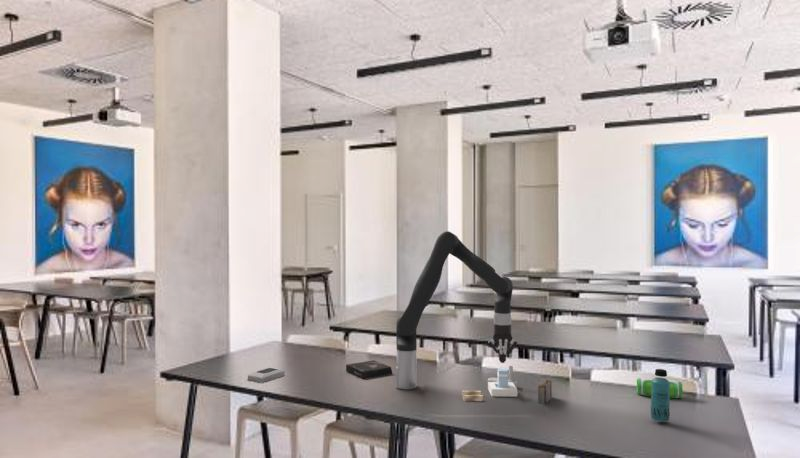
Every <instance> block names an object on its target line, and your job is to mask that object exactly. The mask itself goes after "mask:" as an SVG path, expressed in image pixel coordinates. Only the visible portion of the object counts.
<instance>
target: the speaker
mask: <svg viewBox="0 0 800 458" xmlns="http://www.w3.org/2000/svg"><path fill="white" fill-rule="evenodd" d="M653 379H654V378H648V377H639V378H636V393H637V394H638V395H640V396H645V397H652V380H653ZM667 380H668V381H669V382H670V399H680V398H682V397H683V394H684V393H683V384H682V383H683V382H681V381H679V380H673V379H667Z"/></svg>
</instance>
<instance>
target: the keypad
mask: <svg viewBox="0 0 800 458" xmlns="http://www.w3.org/2000/svg"><path fill="white" fill-rule="evenodd" d="M284 376H285V371H284V370H283V369H281V368H276V367H270V366H269V367H267V368H263V369H259V370H257V371H253V372H251V373H249V374H248V375H247V380H248V381H252V382H256V383H262V384H263V383H265V382H270V381H272V380H275V379H279V378H281V377H284Z"/></svg>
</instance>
